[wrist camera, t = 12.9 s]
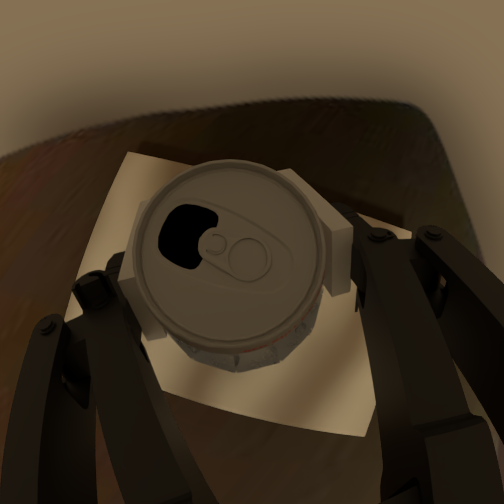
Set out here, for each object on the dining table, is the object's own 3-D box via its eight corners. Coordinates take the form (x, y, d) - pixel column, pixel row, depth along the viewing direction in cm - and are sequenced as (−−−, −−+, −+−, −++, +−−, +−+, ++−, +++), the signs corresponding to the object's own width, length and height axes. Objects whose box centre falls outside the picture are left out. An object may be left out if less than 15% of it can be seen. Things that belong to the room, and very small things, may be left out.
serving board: (68, 343, 19) (58, 344, 18) (133, 161, 23) (128, 151, 21) (357, 430, 19) (364, 436, 17) (402, 237, 22) (411, 232, 21)
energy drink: (214, 238, 20) (178, 130, 8) (292, 268, 20) (357, 194, 8) (181, 315, 19) (94, 304, 7) (261, 348, 19) (289, 389, 7)
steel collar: (150, 338, 18) (135, 339, 16) (192, 207, 21) (186, 188, 18) (287, 379, 18) (296, 388, 15) (323, 244, 20) (336, 231, 17)
